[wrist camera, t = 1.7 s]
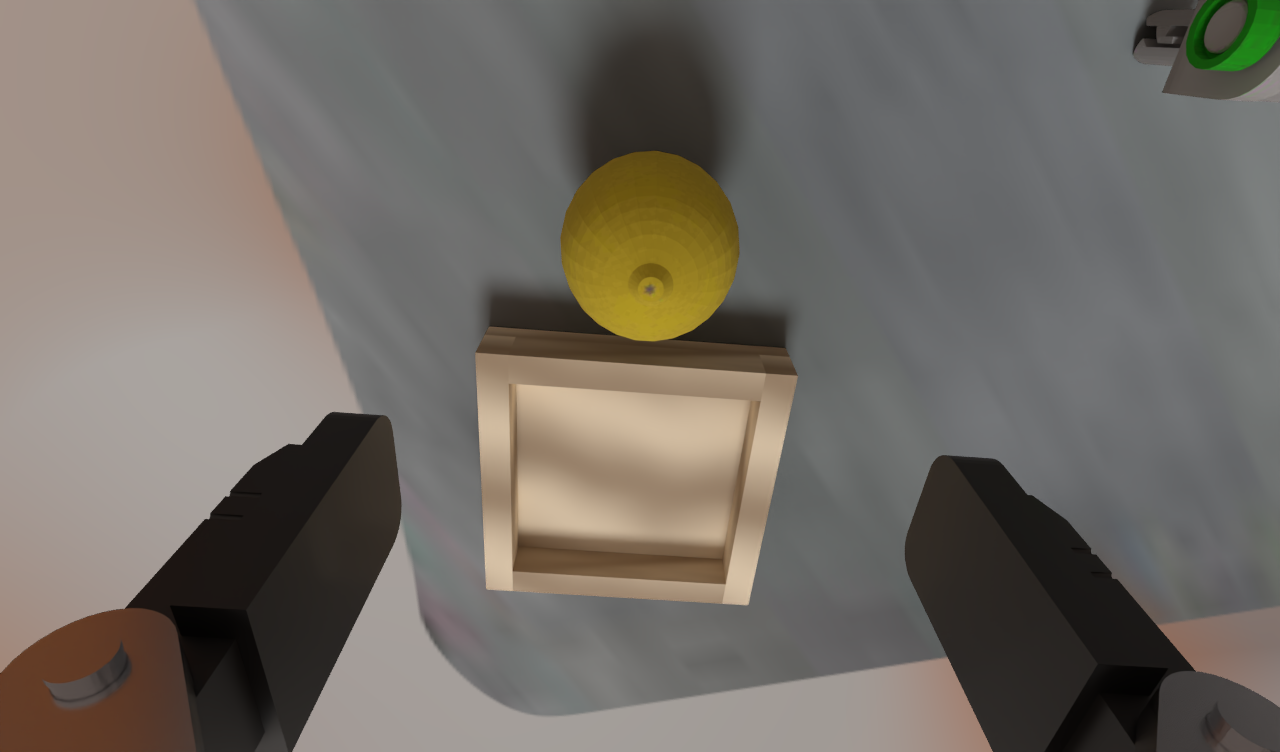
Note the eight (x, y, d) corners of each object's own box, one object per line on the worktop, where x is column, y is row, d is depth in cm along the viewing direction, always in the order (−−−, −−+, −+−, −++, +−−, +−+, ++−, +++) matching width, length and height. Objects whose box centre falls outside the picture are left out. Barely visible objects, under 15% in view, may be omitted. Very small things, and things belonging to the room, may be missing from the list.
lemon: (667, 100, 22) (678, 132, 15) (752, 230, 24) (797, 313, 17) (542, 196, 24) (499, 266, 17) (632, 311, 26) (627, 417, 19)
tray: (489, 326, 26) (475, 352, 24) (785, 348, 26) (798, 376, 24) (496, 552, 32) (486, 589, 30) (741, 567, 32) (748, 605, 30)
